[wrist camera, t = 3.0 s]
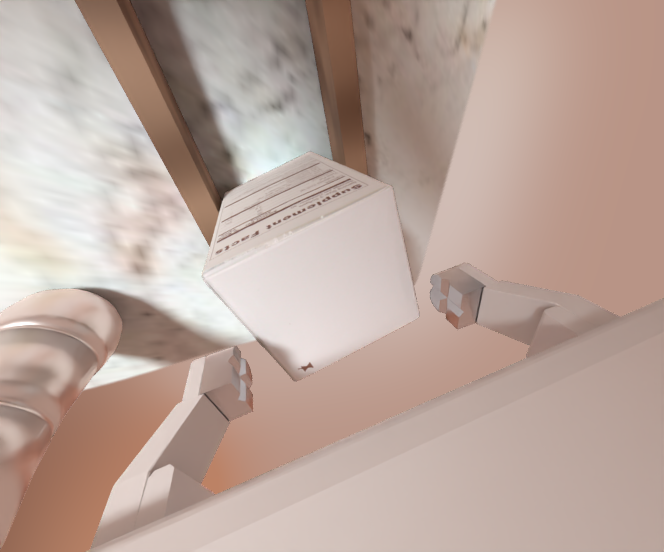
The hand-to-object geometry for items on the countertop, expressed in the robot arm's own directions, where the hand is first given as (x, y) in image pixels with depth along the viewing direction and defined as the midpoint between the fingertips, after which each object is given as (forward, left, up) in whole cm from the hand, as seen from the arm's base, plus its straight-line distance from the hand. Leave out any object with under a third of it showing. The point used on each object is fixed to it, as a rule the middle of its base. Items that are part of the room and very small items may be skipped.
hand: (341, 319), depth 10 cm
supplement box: (0, 0, -13) cm, 13 cm away
